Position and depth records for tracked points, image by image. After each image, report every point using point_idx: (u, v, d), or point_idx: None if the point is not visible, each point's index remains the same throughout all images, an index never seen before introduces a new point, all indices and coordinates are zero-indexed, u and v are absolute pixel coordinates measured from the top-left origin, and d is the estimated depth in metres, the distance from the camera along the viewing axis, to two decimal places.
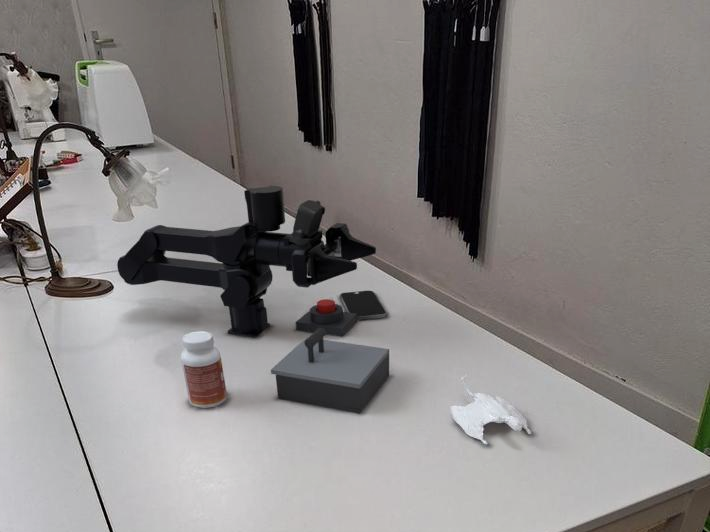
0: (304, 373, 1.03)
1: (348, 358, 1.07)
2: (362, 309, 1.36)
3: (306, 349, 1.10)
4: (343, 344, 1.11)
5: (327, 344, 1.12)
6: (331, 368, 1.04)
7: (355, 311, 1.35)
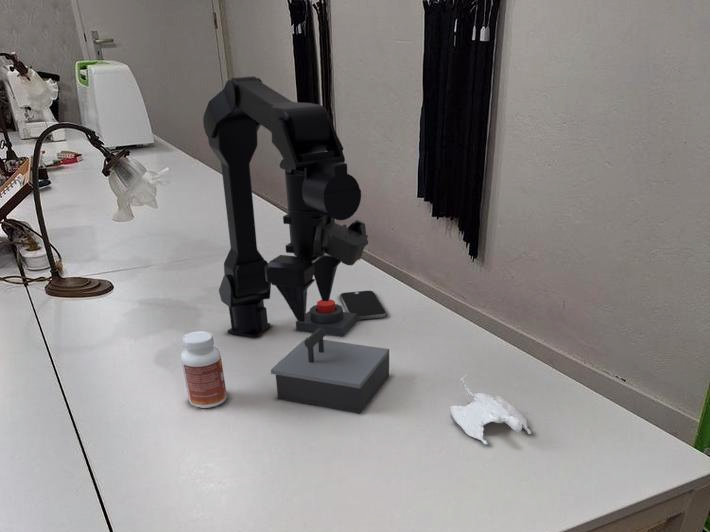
0: (304, 373, 1.03)
1: (348, 358, 1.07)
2: (362, 309, 1.36)
3: (306, 349, 1.10)
4: (343, 344, 1.11)
5: (327, 344, 1.12)
6: (331, 368, 1.04)
7: (355, 311, 1.35)
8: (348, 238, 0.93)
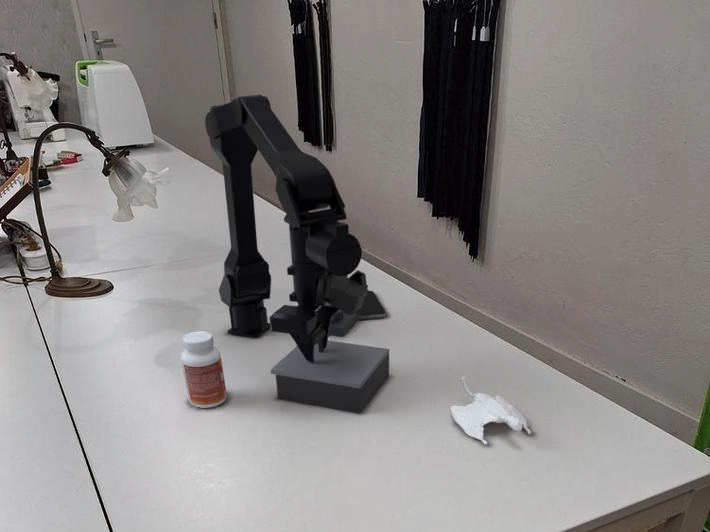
0: (304, 373, 1.03)
1: (348, 358, 1.07)
2: (362, 309, 1.36)
3: None
4: (343, 344, 1.11)
5: (327, 344, 1.12)
6: (331, 368, 1.04)
7: None
8: (349, 289, 0.98)
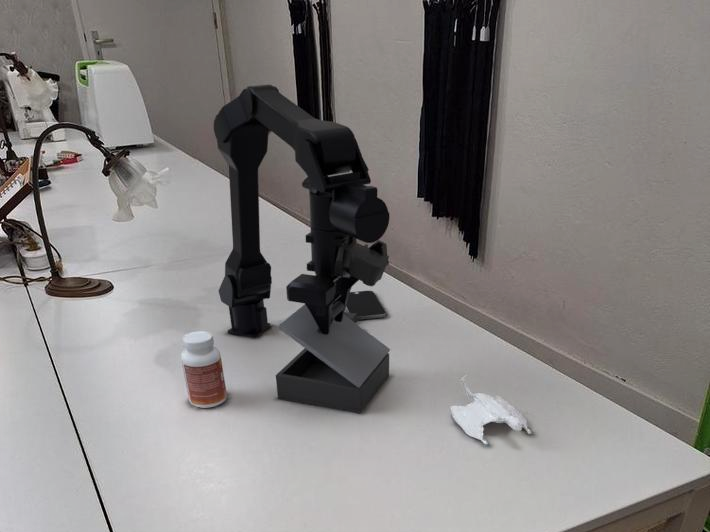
0: (311, 345, 0.99)
1: (353, 344, 1.05)
2: (362, 309, 1.36)
3: None
4: (350, 322, 1.09)
5: None
6: (337, 350, 1.02)
7: (355, 311, 1.35)
8: (370, 259, 0.94)
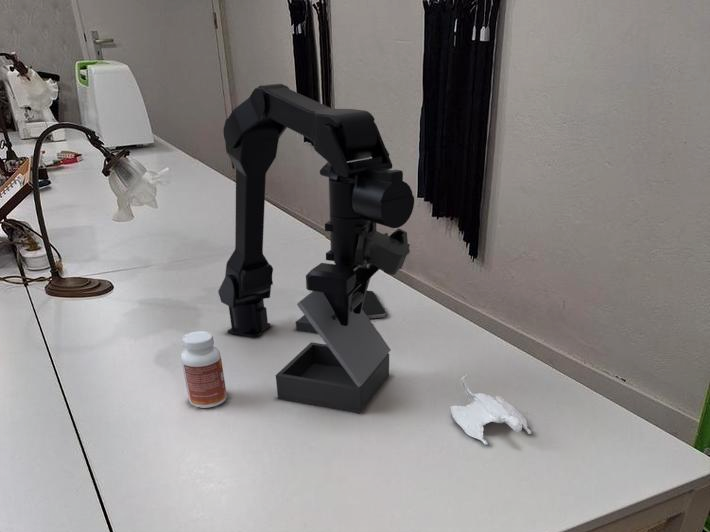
0: (324, 332, 0.97)
1: (360, 338, 1.04)
2: (362, 309, 1.36)
3: None
4: (361, 312, 1.07)
5: None
6: (346, 342, 1.00)
7: None
8: (391, 247, 0.92)
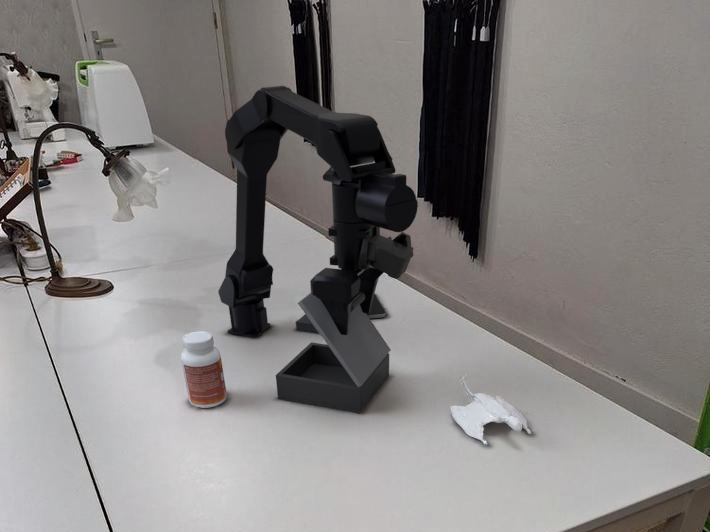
0: (325, 331, 0.97)
1: (361, 337, 1.04)
2: None
3: None
4: (361, 311, 1.07)
5: None
6: (347, 342, 1.00)
7: None
8: (395, 251, 0.92)
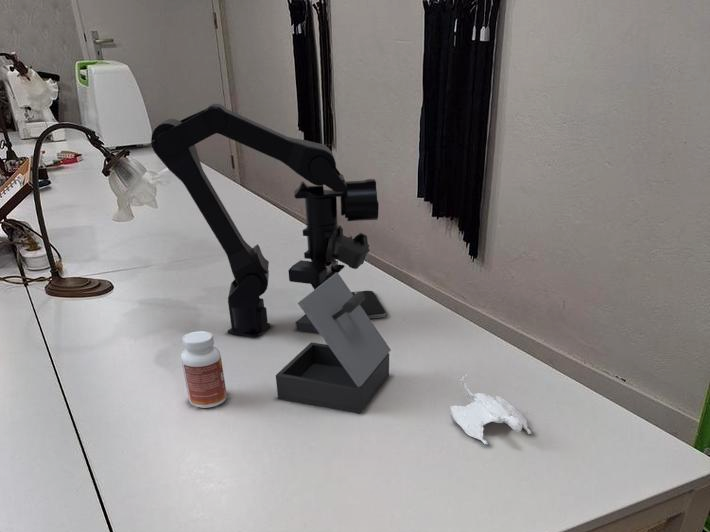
0: (325, 331, 0.97)
1: (361, 337, 1.04)
2: None
3: (333, 293, 1.02)
4: (361, 311, 1.07)
5: None
6: (347, 342, 1.00)
7: None
8: (354, 247, 1.19)
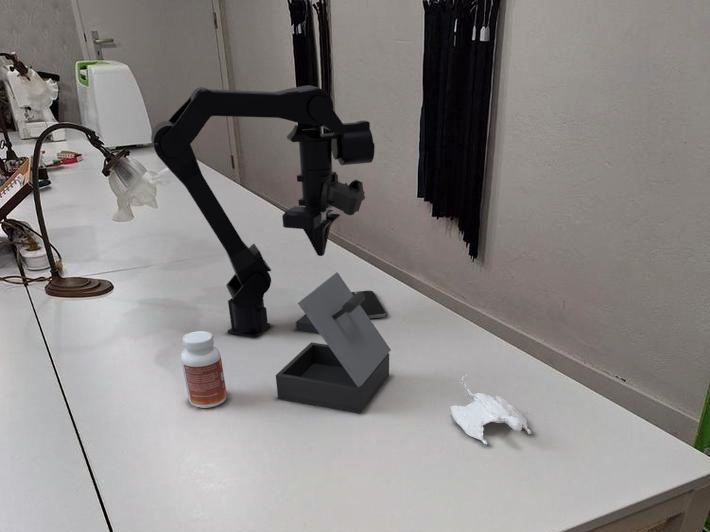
0: (325, 331, 0.97)
1: (361, 337, 1.04)
2: None
3: (333, 293, 1.02)
4: (361, 311, 1.07)
5: None
6: (347, 342, 1.00)
7: None
8: (349, 193, 1.17)
